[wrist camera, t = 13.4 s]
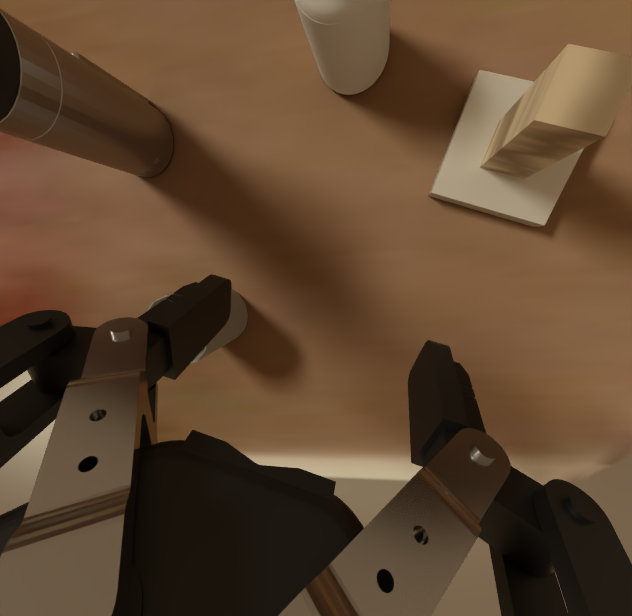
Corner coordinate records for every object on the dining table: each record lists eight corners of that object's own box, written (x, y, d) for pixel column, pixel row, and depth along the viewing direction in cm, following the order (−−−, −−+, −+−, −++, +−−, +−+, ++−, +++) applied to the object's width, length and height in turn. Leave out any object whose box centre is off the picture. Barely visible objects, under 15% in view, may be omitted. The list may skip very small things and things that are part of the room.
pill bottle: (346, 1, 31) (316, -212, 17) (404, 42, 31) (424, -141, 17) (305, 72, 34) (248, -62, 19) (358, 111, 33) (342, 3, 19)
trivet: (428, 196, 33) (430, 192, 31) (473, 81, 30) (479, 69, 28) (534, 227, 31) (544, 225, 30) (593, 108, 28) (609, 98, 27)
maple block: (479, 167, 30) (534, 120, 19) (499, 120, 29) (568, 43, 18) (524, 178, 29) (605, 136, 19) (546, 131, 28) (645, 58, 18)
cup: (257, 304, 41) (219, 320, 31) (234, 350, 43) (192, 378, 33) (209, 275, 41) (157, 281, 32) (189, 321, 44) (135, 341, 34)
